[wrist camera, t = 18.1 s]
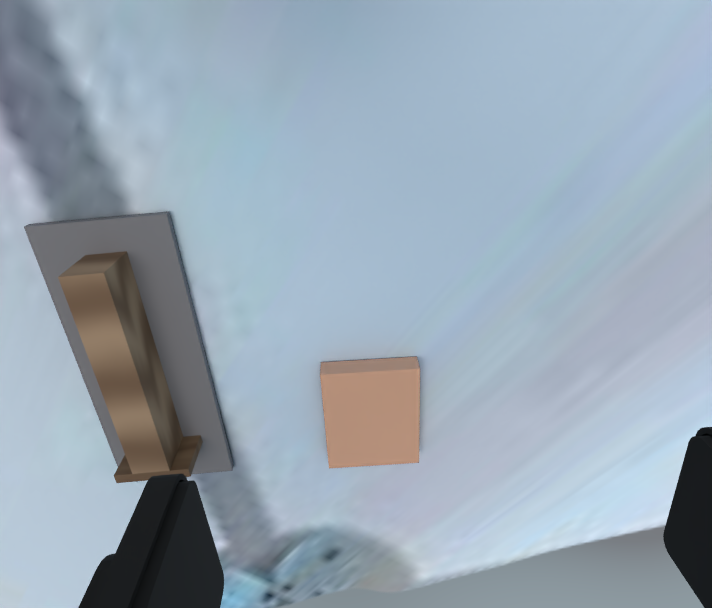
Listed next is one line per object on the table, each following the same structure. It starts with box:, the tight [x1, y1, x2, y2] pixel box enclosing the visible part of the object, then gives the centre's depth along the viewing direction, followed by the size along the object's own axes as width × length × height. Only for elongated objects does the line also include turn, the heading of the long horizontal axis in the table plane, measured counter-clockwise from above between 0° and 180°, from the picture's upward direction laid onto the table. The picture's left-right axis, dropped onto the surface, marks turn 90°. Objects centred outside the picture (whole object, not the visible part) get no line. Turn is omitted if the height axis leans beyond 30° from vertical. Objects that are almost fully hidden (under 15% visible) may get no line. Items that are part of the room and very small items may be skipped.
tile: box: [320, 357, 420, 468], centre depth 43 cm, size 2×8×10 cm
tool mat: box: [24, 212, 234, 474], centre depth 41 cm, size 24×10×1 cm, turn 5°
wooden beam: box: [58, 251, 202, 483], centre depth 38 cm, size 18×6×4 cm, turn 5°
